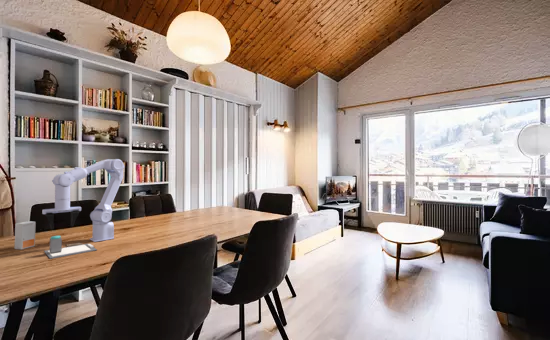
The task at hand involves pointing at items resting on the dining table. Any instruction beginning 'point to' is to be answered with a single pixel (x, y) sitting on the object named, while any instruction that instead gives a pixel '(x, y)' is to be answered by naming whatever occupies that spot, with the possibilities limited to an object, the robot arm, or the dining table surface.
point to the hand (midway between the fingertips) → (62, 227)
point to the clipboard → (71, 250)
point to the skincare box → (24, 235)
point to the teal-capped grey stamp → (55, 244)
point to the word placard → (73, 244)
